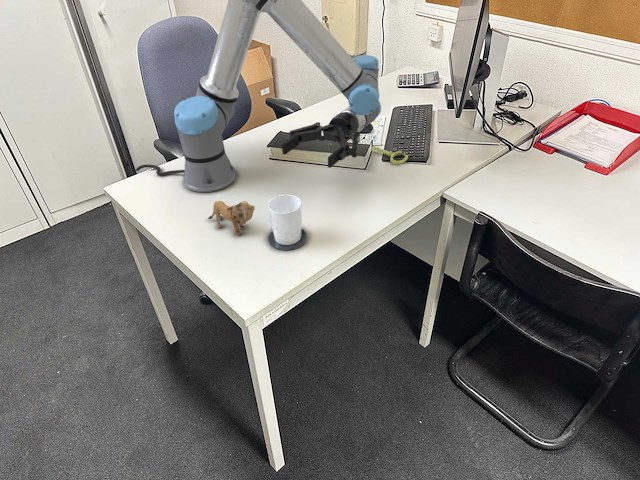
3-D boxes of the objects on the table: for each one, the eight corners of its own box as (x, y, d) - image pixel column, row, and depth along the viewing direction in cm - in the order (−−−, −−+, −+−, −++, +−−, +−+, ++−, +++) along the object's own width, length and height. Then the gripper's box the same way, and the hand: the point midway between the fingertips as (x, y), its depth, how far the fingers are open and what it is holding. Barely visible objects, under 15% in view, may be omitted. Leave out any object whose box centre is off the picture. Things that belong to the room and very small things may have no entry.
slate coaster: (260, 242, 105) (260, 241, 105) (283, 222, 112) (283, 221, 111) (292, 255, 101) (292, 254, 101) (314, 233, 107) (314, 232, 107)
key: (371, 150, 141) (372, 144, 140) (409, 155, 138) (409, 149, 137) (366, 161, 136) (367, 155, 135) (405, 166, 133) (406, 160, 131)
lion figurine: (260, 228, 110) (256, 198, 104) (249, 239, 106) (244, 210, 101) (214, 214, 115) (207, 186, 109) (202, 225, 111) (194, 196, 106)
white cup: (299, 248, 102) (296, 214, 96) (267, 245, 104) (263, 211, 97) (306, 229, 108) (304, 195, 102) (276, 226, 110) (273, 193, 103)
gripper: (386, 146, 117) (349, 182, 103) (310, 128, 128) (267, 157, 114) (388, 120, 112) (350, 154, 99) (309, 103, 123) (264, 131, 109)
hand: (305, 156), depth 106 cm, fingers open, 13 cm apart
